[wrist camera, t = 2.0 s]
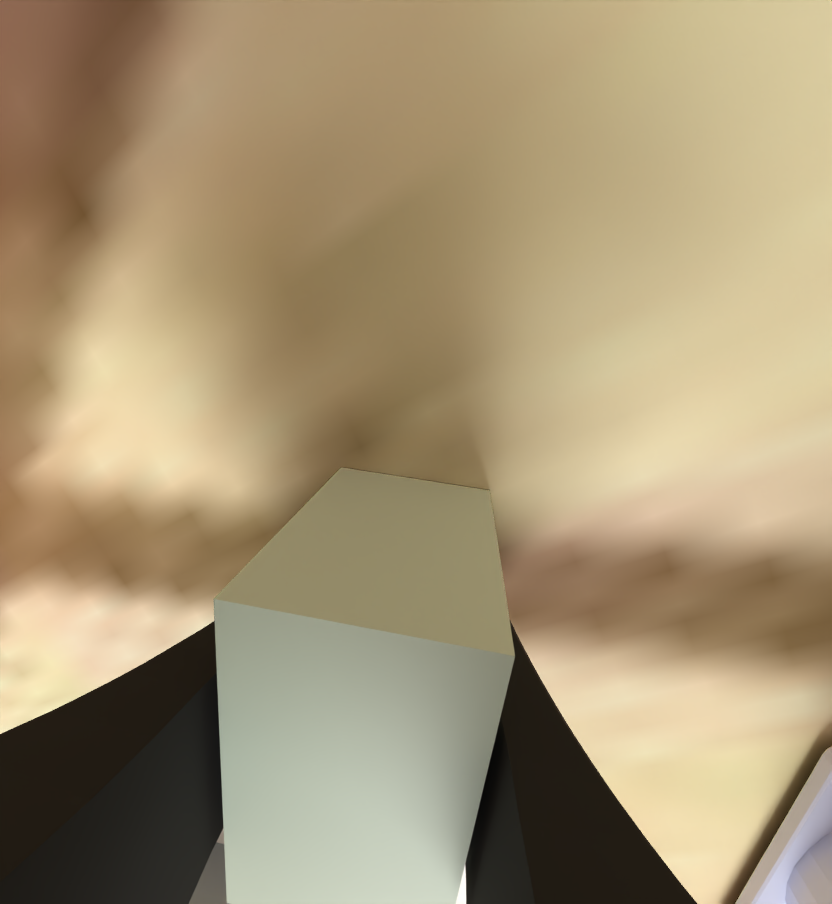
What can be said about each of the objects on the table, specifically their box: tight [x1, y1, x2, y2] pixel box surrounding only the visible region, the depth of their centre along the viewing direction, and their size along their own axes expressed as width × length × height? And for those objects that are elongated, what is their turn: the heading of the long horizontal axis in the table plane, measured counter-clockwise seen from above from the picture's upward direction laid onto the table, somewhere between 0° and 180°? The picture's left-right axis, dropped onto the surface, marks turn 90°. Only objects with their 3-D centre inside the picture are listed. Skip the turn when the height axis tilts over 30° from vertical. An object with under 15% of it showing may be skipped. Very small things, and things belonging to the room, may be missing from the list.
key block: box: [214, 467, 515, 904], centre depth 8 cm, size 4×6×5 cm, turn 173°
